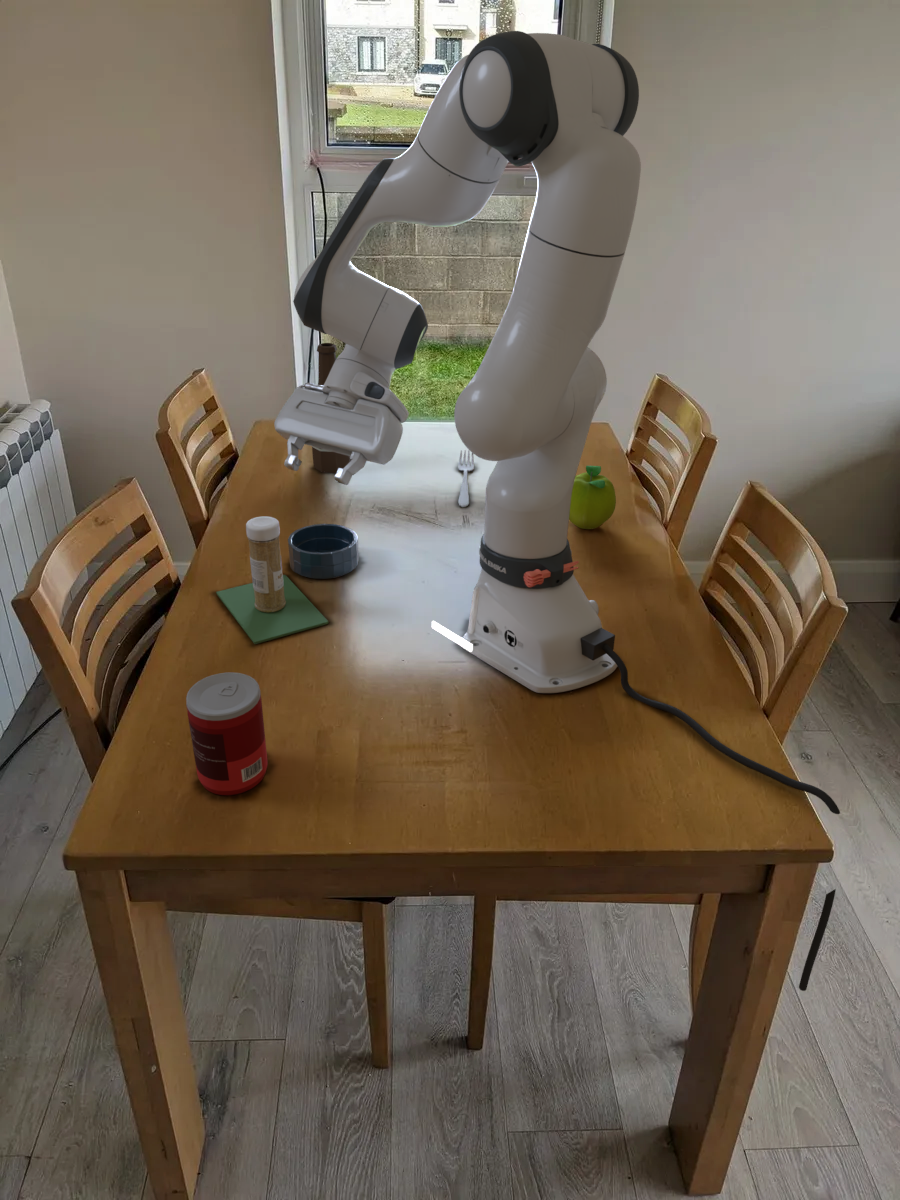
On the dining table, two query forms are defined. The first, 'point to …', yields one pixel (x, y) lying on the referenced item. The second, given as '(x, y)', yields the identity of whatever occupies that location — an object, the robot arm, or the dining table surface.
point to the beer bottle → (327, 357)
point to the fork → (465, 479)
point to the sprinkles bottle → (266, 563)
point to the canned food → (227, 732)
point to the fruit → (591, 499)
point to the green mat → (272, 624)
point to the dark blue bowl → (323, 551)
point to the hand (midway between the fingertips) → (314, 475)
